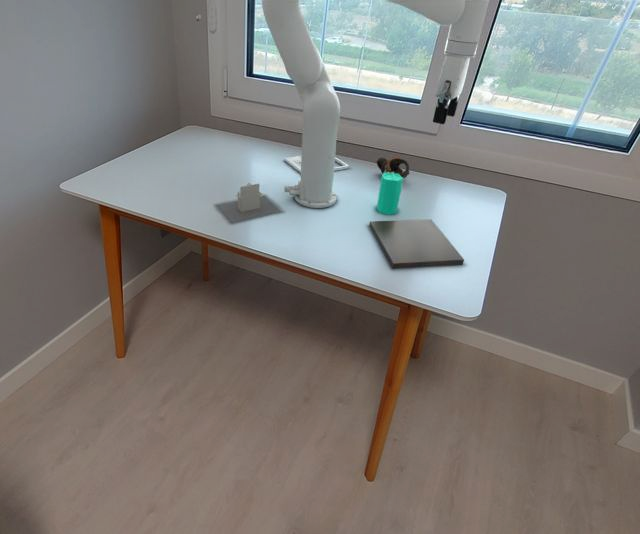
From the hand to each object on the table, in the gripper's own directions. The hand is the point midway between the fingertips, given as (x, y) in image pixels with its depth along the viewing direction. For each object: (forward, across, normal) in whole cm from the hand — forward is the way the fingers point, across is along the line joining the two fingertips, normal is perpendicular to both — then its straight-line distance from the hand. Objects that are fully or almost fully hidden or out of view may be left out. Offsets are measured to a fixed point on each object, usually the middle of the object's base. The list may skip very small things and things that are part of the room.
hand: (443, 119), depth 111 cm
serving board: (+25, +26, +6) cm, 37 cm away
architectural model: (+26, +36, -40) cm, 59 cm away
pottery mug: (+25, -11, -16) cm, 32 cm away
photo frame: (+25, -5, -42) cm, 49 cm away
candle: (+25, +12, -7) cm, 29 cm away
